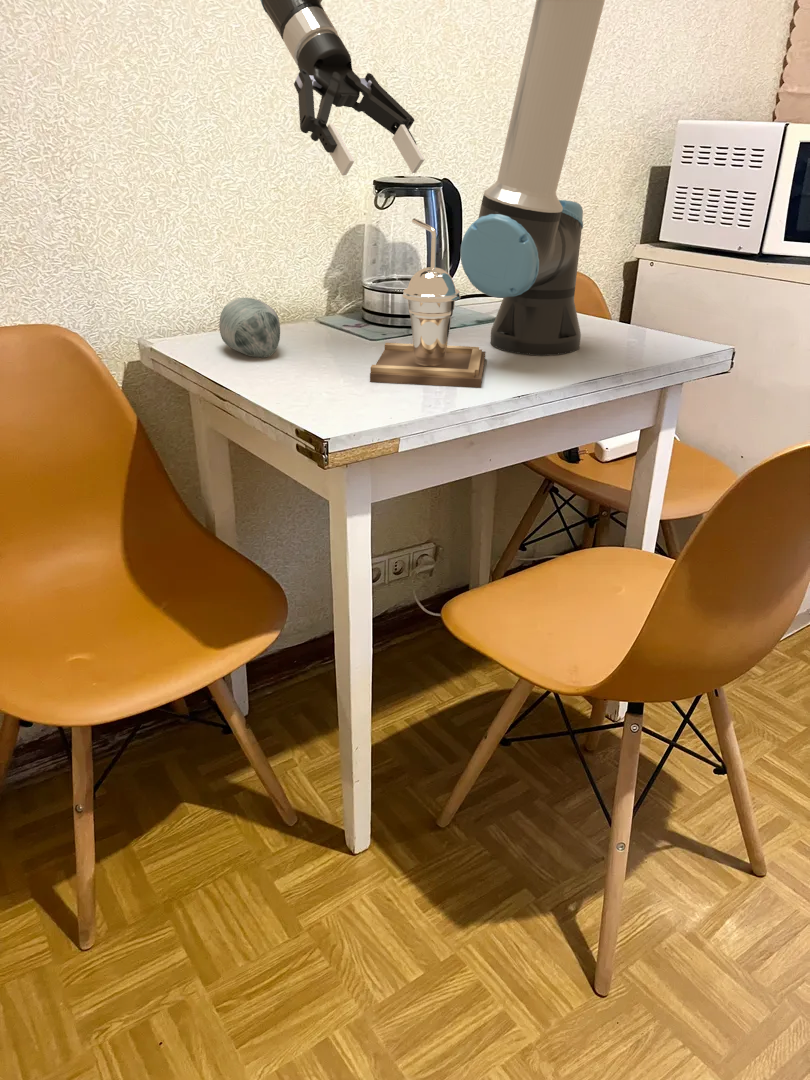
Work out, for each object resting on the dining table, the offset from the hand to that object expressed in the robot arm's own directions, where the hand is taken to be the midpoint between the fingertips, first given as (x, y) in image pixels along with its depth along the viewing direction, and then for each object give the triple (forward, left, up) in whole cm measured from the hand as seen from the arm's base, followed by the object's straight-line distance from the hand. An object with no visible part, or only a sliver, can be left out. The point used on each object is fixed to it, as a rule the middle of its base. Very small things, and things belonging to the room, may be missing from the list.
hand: (384, 167), depth 119 cm
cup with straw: (-8, +7, -27) cm, 29 cm away
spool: (+22, +1, -28) cm, 35 cm away
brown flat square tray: (-8, +7, -28) cm, 30 cm away
